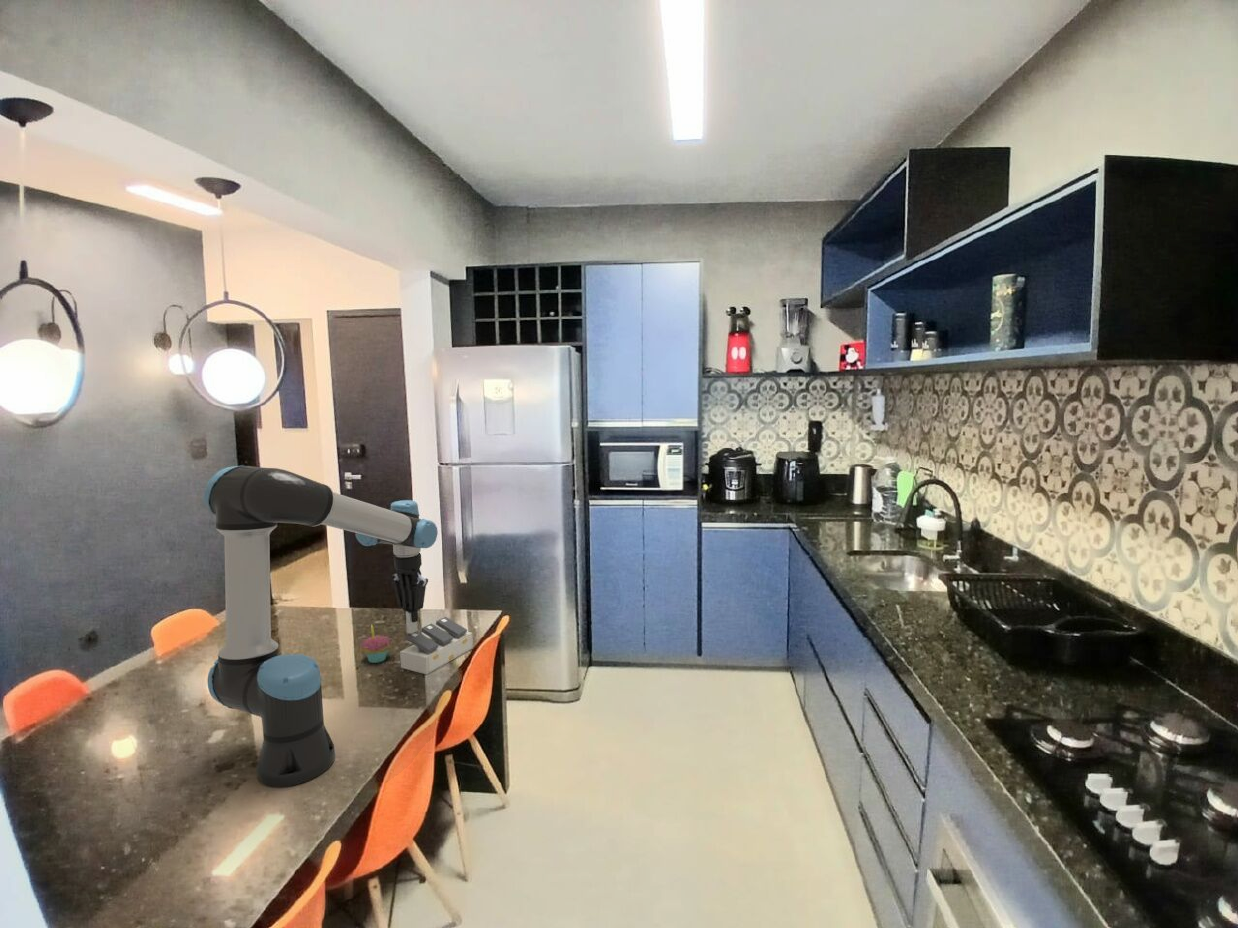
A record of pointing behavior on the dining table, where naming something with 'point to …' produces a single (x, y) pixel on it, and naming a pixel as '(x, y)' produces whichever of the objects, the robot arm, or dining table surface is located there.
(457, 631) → the rocker
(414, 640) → the rocker
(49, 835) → the dining table surface
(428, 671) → the switch unit
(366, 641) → the cupcake
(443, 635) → the block
